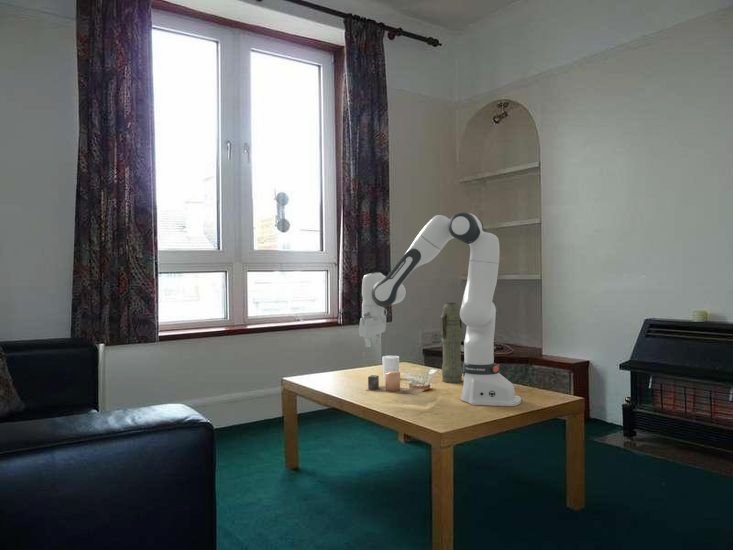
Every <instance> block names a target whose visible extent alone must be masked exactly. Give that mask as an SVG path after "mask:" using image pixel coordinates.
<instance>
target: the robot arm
mask: <svg viewBox="0 0 733 550" xmlns="http://www.w3.org/2000/svg"><path fill="white" fill-rule="evenodd" d="M452 239H455V240H457V241H459V242H462V243H464V244H467V245H469V248H470V249H469V250H470V251H469V252H470V253H469V261H468V269H467V270H468V271H467V279H466V285H465V288H464V291H463V297H462V301H461V306H460V318H461V320H462V324H464V325H465V326H466V330H465V337H464V341H463V345H464V346H463V348H464V349H463V351H464V352H463V356H464V357H463V358H464V360H463V364H462V377H463V383H462V385H463V386H462V390H461V394H460V397H459V399H460V400H461V401H462V402H466V403H469V404H470V405H474V406H495V407H496V406H498V407H499V406H500V407H515V406H518V405H519V404H521V402H522V398H521V396H518V395H516V391H515V388H514V385H513V384H514V383H512V382H511V381H510V380H508V379H507V378H506V377H504V376H503V375H502V374H501V373H500V364H497V363H496V362H494V360H495V356H494V353H495V351H494V342H495V341H494V340H495V333H496V332H495V330H496V319H497V318H496V315H497V308H496V305H495V303H494V302H493V298H494V294H495V289H496V287H497V283H498V273H499V266H500V253H501V252H500V251H501V250H500V240H499V238H498V236H497V235H495V234H494V233H492V232H487V231H484V224H483V222H482V221H481V219H480V218H479V217H477V216H476V215H475V214H473V213H470V212H467V211H460V212H457V213H455V214H454V215H452V217H451V218H448V217H447V216H446V215H442V214H438V215H437V214H436V215H434V216H433V217H432V218H431V219H429V221H428V222H426V224H424V226H423V227H422V229H421V230H420V231H419V233H418V234H417V235H416V237H415V238H414V240H413V241H412V243H411V245H410V246H409V248H408V249H406V250H407V251H406V252H405V253H404V254H403V256H402V257H401V258H400V259H399V260H398V262H397V263H396V264H395V266H393V268H392V269H391V270H390V272H389V273H388V274H387V275H384V274H383V273H381V272H380V271H375V272H370V273H366V274H365V275H363V278H362V280H361V282H362V283H361V296H362V303H361V318H360V319H359V327H358V335H359V337H360V338H361V337H362V338H363V339H364V343H365V347H366V348H370V347H372V342H371V337H372V336H375V339H374V344H375V345H380V343H381V341H380V340H381V337H382V333H385V332H386V329H387V315H388V310H387V308H386V307H390V306H392V305H397V304H399V303H401V302H403V301H404V300H405V298H406V295H407V289H406V286H405V285H404V284H403V283H404V282H405V281H406V280H407V278H408V277H409V276H410V274H411V273H412V272H413V271H414V270H415V269H417V268H419V267H420V266H422V265H425V264H428V263H431V262H432V260H434V259H435V258H436V257H437V256H438V255H439V253H440V252H441V251H443V248H444V247H445V246H446V245H447V243H448V242H449V241H451V240H452Z"/></svg>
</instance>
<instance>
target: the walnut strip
mask: <svg viewBox="0 0 733 550" xmlns="http://www.w3.org/2000/svg"><path fill="white" fill-rule="evenodd" d="M379 376H380V375H372V374H371V375H370V376H368V379H367V384H368V385H367V386H368V387H367V389H366V390H365V391H367V392H378V393H379V392H380V393H390V394H401V395H402V394H404V395H419V394H420V393H423V392H424V391H425V389H423V388H422V389H421V388H408V387H400V391H386V390H385V385H384V386H383V385H380V384H379V383H380V379H379V378H380V377H379Z"/></svg>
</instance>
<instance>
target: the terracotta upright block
mask: <svg viewBox="0 0 733 550" xmlns="http://www.w3.org/2000/svg"><path fill="white" fill-rule="evenodd" d="M384 381H385V382H384V383H385V385H384V386H385V390H386V391H400V388H401V372H400V371H399V372H397V371H389V372H385V379H384Z"/></svg>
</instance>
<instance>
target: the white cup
mask: <svg viewBox="0 0 733 550" xmlns="http://www.w3.org/2000/svg"><path fill="white" fill-rule="evenodd" d="M381 359H382V360H381V363H382V373H383V379H384V380H385V372H389V371H397V372H400V371H399V370H400V356H399V355H383V356H382V357H381Z"/></svg>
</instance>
